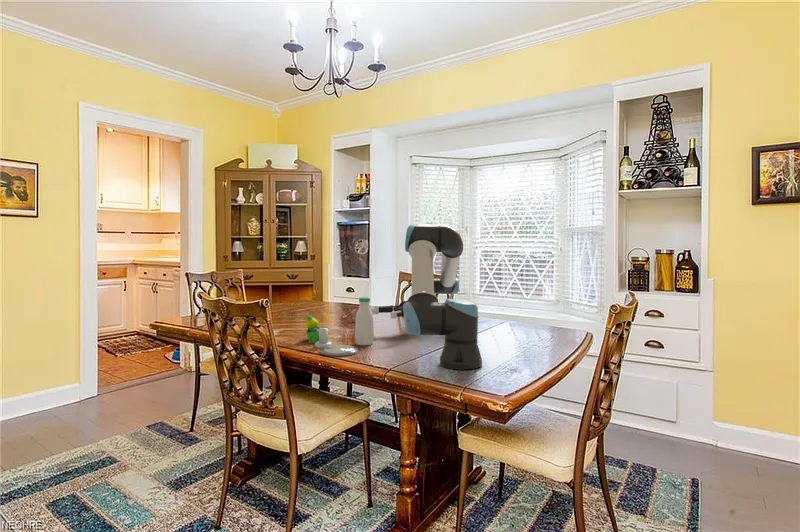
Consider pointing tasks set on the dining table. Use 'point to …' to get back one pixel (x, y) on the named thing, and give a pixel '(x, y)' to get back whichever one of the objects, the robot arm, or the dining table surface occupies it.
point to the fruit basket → (312, 329)
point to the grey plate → (339, 350)
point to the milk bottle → (364, 323)
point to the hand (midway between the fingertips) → (379, 313)
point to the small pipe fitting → (323, 338)
